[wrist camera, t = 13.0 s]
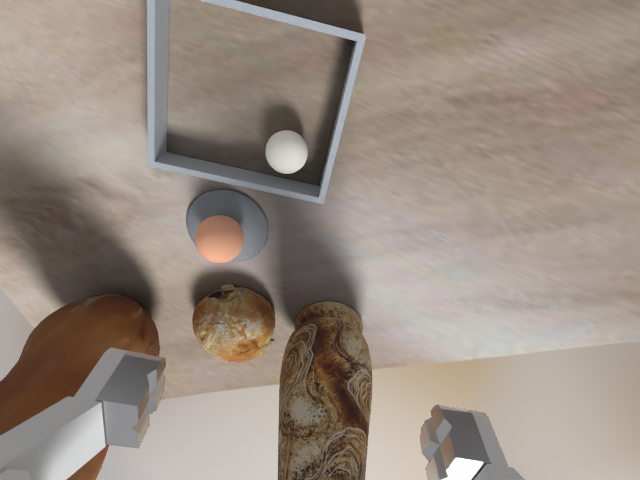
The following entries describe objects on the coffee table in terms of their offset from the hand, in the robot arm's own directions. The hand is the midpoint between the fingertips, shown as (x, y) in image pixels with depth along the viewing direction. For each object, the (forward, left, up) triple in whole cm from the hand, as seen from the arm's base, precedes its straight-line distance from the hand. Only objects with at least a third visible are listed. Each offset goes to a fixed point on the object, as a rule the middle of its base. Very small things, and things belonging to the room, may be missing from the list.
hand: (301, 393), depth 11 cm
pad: (+8, +12, -29) cm, 32 cm away
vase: (-6, +24, -29) cm, 38 cm away
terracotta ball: (+8, +12, -29) cm, 32 cm away
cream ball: (+3, +1, -29) cm, 29 cm away
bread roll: (+5, +25, -30) cm, 39 cm away
